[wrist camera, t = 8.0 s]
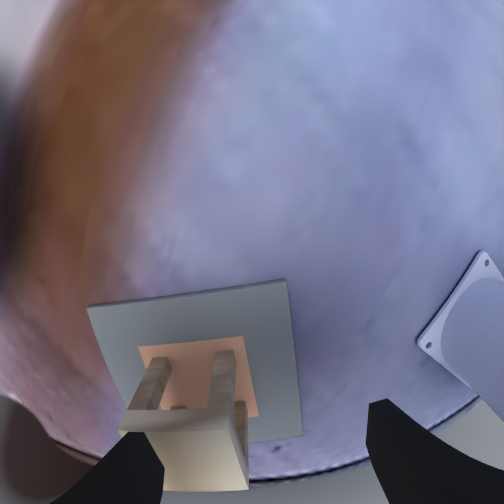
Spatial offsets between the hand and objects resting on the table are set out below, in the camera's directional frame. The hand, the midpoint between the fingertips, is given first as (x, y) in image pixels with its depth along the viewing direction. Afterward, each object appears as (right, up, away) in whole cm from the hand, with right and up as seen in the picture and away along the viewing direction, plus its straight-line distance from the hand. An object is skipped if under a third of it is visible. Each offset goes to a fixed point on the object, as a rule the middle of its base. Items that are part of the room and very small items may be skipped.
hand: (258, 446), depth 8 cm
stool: (-3, -2, +9) cm, 10 cm away
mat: (-3, -2, +10) cm, 11 cm away
